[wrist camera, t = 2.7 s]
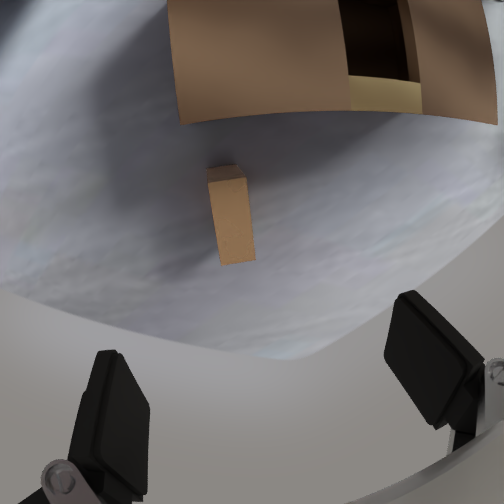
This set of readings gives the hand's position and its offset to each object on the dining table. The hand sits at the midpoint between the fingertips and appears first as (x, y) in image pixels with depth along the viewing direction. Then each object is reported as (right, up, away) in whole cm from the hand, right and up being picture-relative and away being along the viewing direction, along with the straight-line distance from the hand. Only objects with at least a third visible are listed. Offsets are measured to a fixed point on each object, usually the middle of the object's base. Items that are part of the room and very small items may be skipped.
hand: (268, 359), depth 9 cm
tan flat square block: (-3, +8, +16) cm, 18 cm away
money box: (+4, +21, +11) cm, 24 cm away
